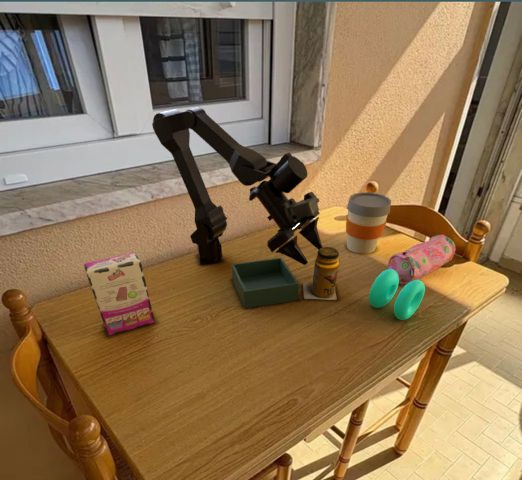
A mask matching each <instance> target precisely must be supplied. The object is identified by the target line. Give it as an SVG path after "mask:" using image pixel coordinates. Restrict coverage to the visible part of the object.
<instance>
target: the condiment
mask: <svg viewBox="0 0 522 480" xmlns="http://www.w3.org/2000/svg"><path fill="white" fill-rule="evenodd" d="M339 256H340V252H339V250H338V249H336V248H334V247H331V246H322V248H320V249H319V250H318V249H317V254H316V258H315V261H314V265H313V274H312V282H311V283H308V282H307V283H305V282H304V283H303V282H302V287H303V288H302V289H303V299H304V300H328V301H336V300H338V298H337V294H336V285H337V279H338V273H339V267H340V266H339V265H340V261H339Z"/></svg>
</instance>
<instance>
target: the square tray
mask: <svg viewBox="0 0 522 480" xmlns="http://www.w3.org/2000/svg"><path fill="white" fill-rule="evenodd" d="M230 265H231V280H232V281H231V282H232V283H233V285H234V287H235V290H236V292H237V294H238V296H239V298H240V299H239V300H240V301H241V303H242V305H243V308H244V309H251V308H257V307H264V306H269V305H276V304H281V303H289V302H295V301H298V300H299V291H300V283H299V281H298V279H297V278H296V277H295V275H294V273H293V272H292V270H291V269H290V268H289V266H288V264H287V263H286V262H285V261H284V259H283V257H275V258H266V259H259V260H252V261H244V262H237V263H231V264H230Z"/></svg>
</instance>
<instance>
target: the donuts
mask: <svg viewBox="0 0 522 480" xmlns="http://www.w3.org/2000/svg"><path fill="white" fill-rule="evenodd" d="M399 285H400V284H399V276H398V274H397V272H396V271H395V270H393V269H388V268H386V269H385V270H383V271H381V272H380V273H379V275H377V277H376V278H375V279H374V281H373V283H372V285H371V287H370V291H369V295H368V301H369V304H370V306H372V307H373V308H375V309H379V308H383V307H385V306H386V305H388V304H389V303H390V302H391V301H392V299H393V298H394V297H395V294H396V292H397V290H398V288H399ZM425 292H426V285H425V283H424V282H423V281H422V280H419V279H417V280H413V281H411V282H409V283H407V284H404V286H403V287H402V289H401V290H400V291H399V293H398V295H397V296H396V299H395V301H394V305H393V313H394V316H395V318H397V319H398V320H400V321H406V320H409V318H411V317H412V316H413V315H414V314H415V313H416V311H417V310H418V308H419V307H420V306H421V303H422V301H423V298H424V296H425Z"/></svg>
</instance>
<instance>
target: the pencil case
mask: <svg viewBox="0 0 522 480" xmlns="http://www.w3.org/2000/svg"><path fill="white" fill-rule="evenodd" d="M455 254H456V244H455V242H454V241H453V239H451V238H450V237H448V236H446V235H445V234H436V235H433V236H432V237H431V238H430V239H429V240H426V241H424V242H420V243H417V244H415V245H413V246H410V247H409V248H408V249H406V250H404V251H401V252H396V253H395V254H392V255H391V256H390V257H389V259H388V262H387V269H393V270H395V271H396V272H397V274H398V276H399V284H398V285H406V284H408V283H409V282H411V281H413V280H419V279H421V278H423V277H425V276H427V275H430V273H432V272H435V271H436V270H437V269H439V268H441V267H442V266H444V265H445V264H447V263H449V262H450V261H451V260H452V259H453V258H454V256H455Z"/></svg>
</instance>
